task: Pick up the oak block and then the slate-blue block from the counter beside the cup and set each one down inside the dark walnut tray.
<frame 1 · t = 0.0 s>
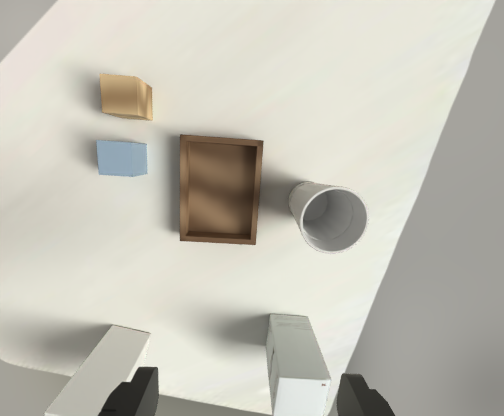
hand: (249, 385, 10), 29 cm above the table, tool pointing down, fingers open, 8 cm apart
tray: (222, 189, 38), on the table
oak block: (136, 103, 35), on the table
supplement box: (286, 330, 44), on the table
cup: (307, 200, 39), on the table
slate block: (132, 158, 36), on the table
milk carton: (129, 343, 44), on the table
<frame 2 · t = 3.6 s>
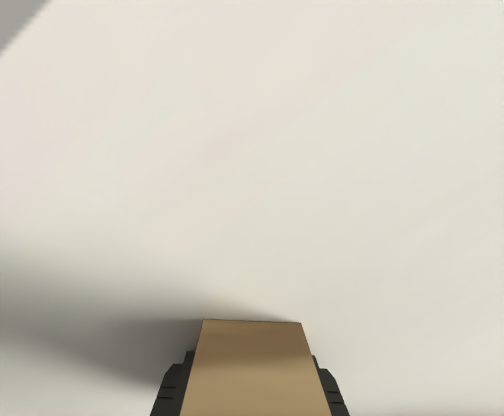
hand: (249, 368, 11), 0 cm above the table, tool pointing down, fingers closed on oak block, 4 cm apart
oak block: (249, 361, 11), on the table, touching gripper
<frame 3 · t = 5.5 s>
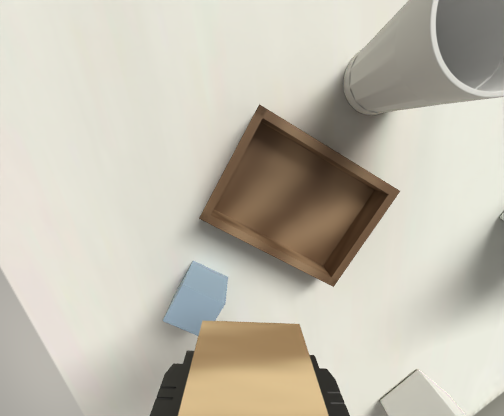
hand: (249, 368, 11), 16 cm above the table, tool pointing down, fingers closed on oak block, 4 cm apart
tray: (292, 198, 26), on the table
oak block: (248, 362, 11), point 16 cm above the table, touching gripper
cup: (373, 81, 23), on the table
slate block: (202, 284, 28), on the table
milk carton: (412, 394, 33), on the table
when the fingers open (3 cm above the table, at t = 7.7 s): oak block drops 2 cm, resting on tray.
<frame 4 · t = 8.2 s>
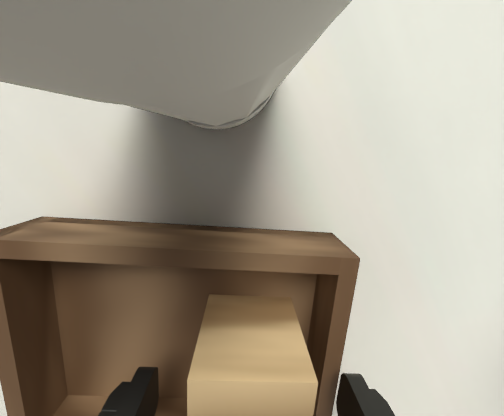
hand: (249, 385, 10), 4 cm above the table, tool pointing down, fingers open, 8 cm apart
tray: (189, 317, 14), on the table
oak block: (247, 330, 13), point 1 cm above the table, touching tray
cup: (214, 60, 11), on the table
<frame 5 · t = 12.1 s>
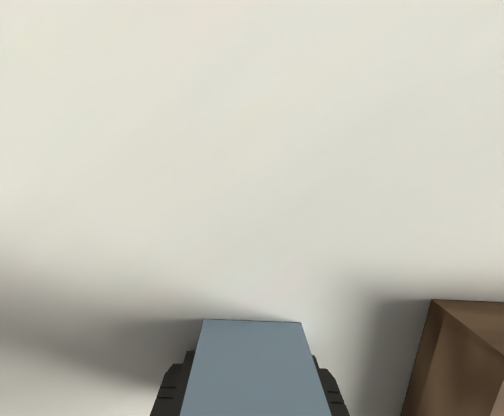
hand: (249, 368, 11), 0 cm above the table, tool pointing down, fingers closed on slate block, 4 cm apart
slate block: (249, 361, 11), on the table, touching gripper
when the fingers open (3 cm above the table, at t = 16.0 s): slate block drops 2 cm, resting on tray.
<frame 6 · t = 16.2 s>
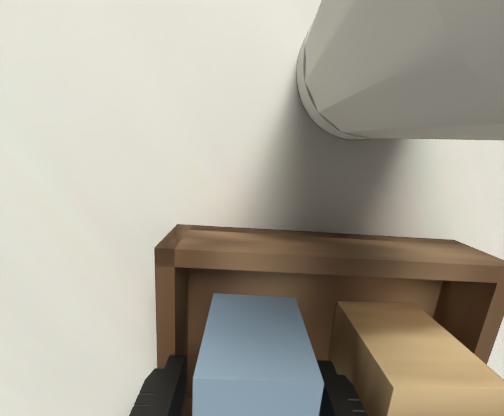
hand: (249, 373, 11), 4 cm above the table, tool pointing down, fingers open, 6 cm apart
tray: (306, 322, 14), on the table
oak block: (369, 336, 14), point 1 cm above the table, touching gripper, tray
cup: (360, 72, 12), on the table
slate block: (251, 330, 13), point 1 cm above the table, touching tray
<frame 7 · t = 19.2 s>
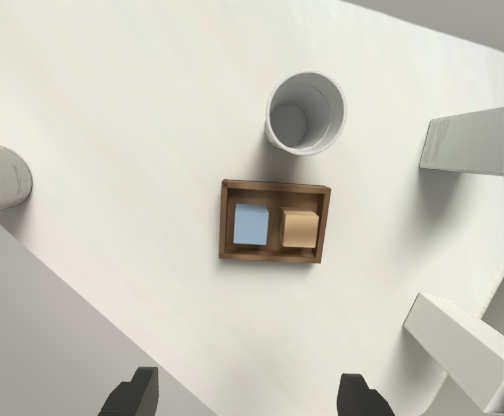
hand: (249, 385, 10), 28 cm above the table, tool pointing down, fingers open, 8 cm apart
tray: (271, 218, 38), on the table
oak block: (293, 221, 37), point 1 cm above the table, touching tray
supplement box: (445, 146, 36), on the table
cup: (285, 127, 35), on the table
slate block: (250, 218, 37), point 1 cm above the table, touching tray
milk carton: (427, 312, 43), on the table
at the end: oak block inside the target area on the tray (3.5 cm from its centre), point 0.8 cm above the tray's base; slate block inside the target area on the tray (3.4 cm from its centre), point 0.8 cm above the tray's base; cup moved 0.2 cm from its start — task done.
